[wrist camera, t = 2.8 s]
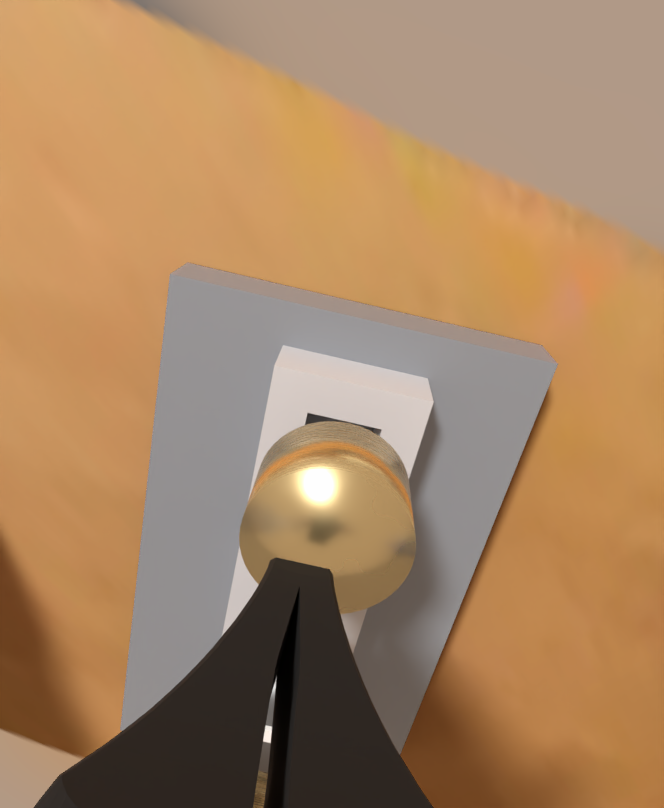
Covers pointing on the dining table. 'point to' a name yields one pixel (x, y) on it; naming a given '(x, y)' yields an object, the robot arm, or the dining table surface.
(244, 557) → the knob
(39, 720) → the dining table surface
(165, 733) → the robot arm
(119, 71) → the dining table surface
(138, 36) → the dining table surface
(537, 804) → the dining table surface
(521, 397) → the mount
